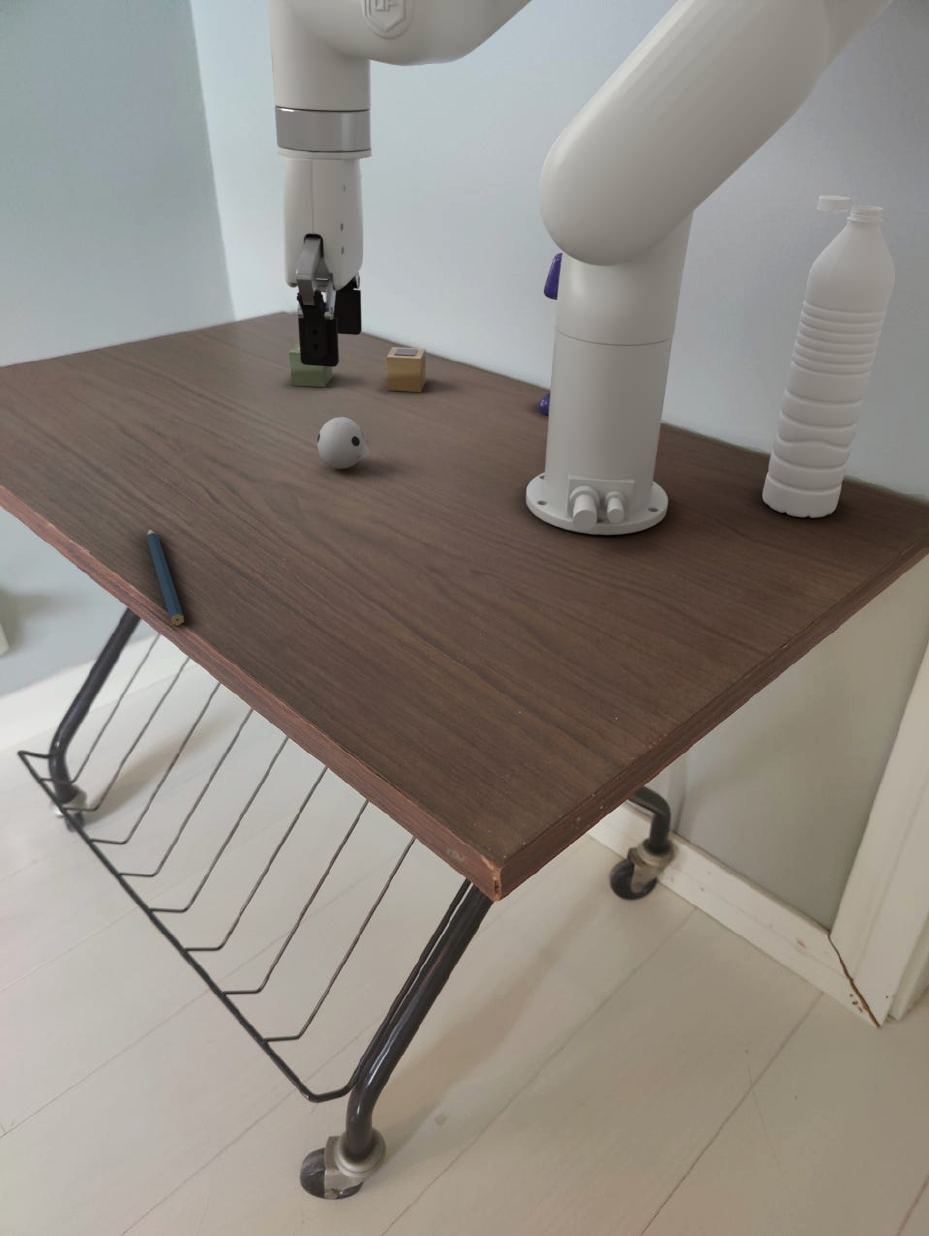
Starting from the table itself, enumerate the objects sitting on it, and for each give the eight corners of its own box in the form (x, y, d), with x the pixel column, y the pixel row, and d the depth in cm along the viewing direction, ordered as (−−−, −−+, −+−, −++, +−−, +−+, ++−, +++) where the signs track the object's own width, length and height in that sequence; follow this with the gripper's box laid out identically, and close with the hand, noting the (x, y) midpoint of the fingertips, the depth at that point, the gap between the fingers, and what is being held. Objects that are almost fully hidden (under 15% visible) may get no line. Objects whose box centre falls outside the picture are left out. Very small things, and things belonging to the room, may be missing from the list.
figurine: (362, 480, 86) (359, 430, 83) (311, 475, 87) (307, 425, 84) (377, 460, 90) (375, 412, 87) (329, 455, 91) (326, 407, 88)
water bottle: (850, 515, 81) (933, 211, 68) (786, 522, 80) (857, 213, 66) (796, 476, 88) (860, 194, 75) (735, 482, 87) (790, 195, 73)
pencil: (186, 616, 64) (157, 526, 76) (173, 612, 64) (146, 522, 75) (181, 626, 65) (153, 535, 76) (168, 622, 64) (141, 531, 76)
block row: (420, 392, 107) (420, 357, 105) (291, 385, 108) (288, 351, 106) (425, 381, 111) (425, 347, 108) (300, 375, 112) (297, 341, 110)
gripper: (305, 122, 80) (315, 320, 90) (245, 142, 66) (264, 375, 75) (389, 127, 80) (390, 325, 89) (347, 148, 65) (354, 382, 75)
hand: (332, 348), depth 82 cm, fingers open, 9 cm apart
